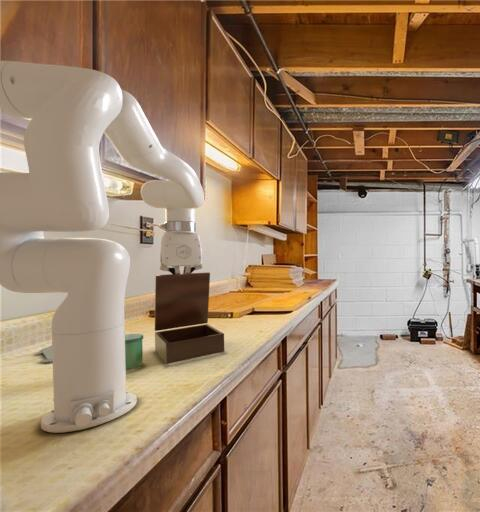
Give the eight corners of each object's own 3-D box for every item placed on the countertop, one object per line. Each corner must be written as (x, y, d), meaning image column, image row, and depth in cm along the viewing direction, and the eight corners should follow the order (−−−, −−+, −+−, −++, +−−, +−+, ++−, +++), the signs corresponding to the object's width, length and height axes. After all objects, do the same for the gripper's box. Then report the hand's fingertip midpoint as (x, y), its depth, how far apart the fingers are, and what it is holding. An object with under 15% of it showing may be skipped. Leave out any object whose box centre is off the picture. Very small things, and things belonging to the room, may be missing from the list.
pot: (145, 369, 77) (145, 337, 77) (111, 376, 73) (110, 342, 73) (141, 362, 82) (141, 332, 82) (109, 369, 77) (108, 336, 77)
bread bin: (224, 354, 88) (224, 333, 88) (166, 366, 79) (166, 344, 79) (207, 342, 99) (207, 324, 99) (155, 352, 90) (154, 332, 90)
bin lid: (210, 272, 96) (209, 272, 97) (156, 275, 87) (155, 275, 87) (207, 323, 99) (206, 322, 100) (155, 331, 89) (154, 330, 90)
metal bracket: (96, 323, 100) (108, 330, 91) (103, 339, 101) (116, 348, 92) (32, 346, 89) (38, 357, 80) (41, 364, 90) (48, 377, 81)
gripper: (152, 226, 86) (153, 293, 86) (212, 228, 96) (213, 288, 97) (147, 227, 91) (149, 290, 91) (205, 229, 101) (205, 286, 102)
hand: (182, 289), depth 94 cm, fingers closed
